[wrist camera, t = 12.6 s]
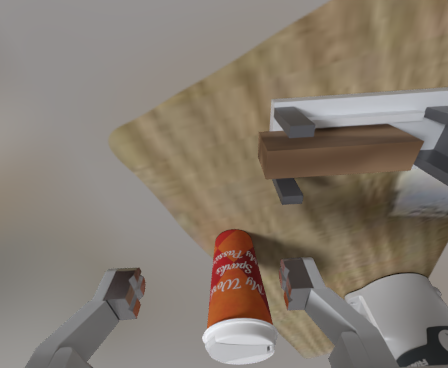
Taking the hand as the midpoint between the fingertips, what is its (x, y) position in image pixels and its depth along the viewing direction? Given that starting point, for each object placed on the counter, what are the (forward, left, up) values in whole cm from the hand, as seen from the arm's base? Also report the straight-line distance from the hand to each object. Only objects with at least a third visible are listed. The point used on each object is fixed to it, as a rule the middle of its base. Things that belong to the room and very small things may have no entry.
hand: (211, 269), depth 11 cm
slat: (0, -12, -16) cm, 20 cm away
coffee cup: (-18, -1, -18) cm, 25 cm away
